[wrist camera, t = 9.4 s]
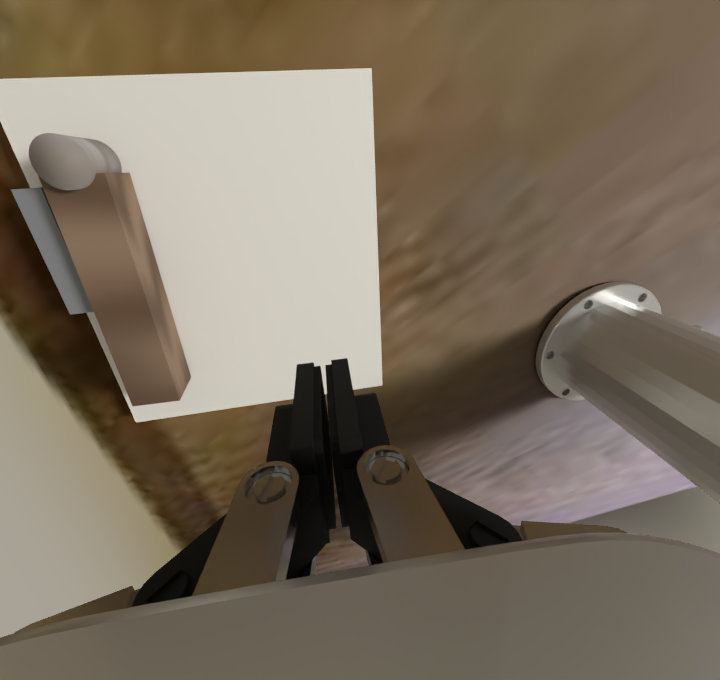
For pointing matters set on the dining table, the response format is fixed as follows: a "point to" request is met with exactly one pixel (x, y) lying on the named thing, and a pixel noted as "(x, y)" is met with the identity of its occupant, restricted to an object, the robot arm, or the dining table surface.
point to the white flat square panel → (230, 217)
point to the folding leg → (114, 262)
